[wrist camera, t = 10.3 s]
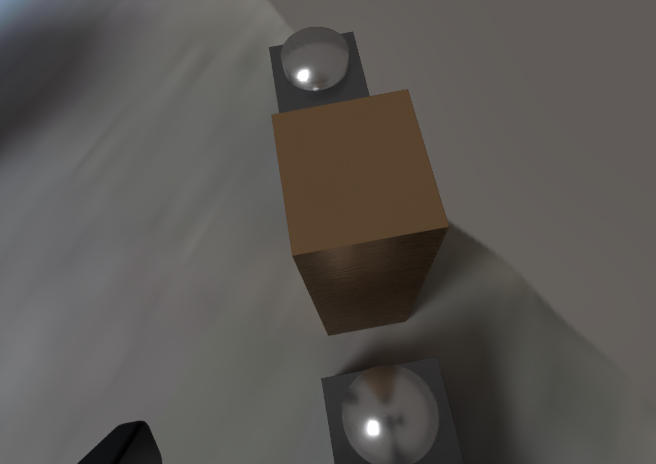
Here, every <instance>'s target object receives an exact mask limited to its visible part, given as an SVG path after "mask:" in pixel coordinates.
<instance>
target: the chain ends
mask: <svg viewBox="0 0 656 464" xmlns="http://www.w3.org/2000/svg"><path fill="white" fill-rule="evenodd" d="M269 50H270V57H271V63H272V69H273V76H274V82H275V88H276V95H277V101H278V107H279V113H284V112H289V111H294V110H300V109H305V108H311V107H316V106H321V105H327V104H332V103H337V102H343V101H348V100H353V99H359V98H364V97H369V92H368V88H367V84H366V81H365V76H364V72H363V69H362V65H361V61H360V57H359V53H358V49H357V45H356V41H355V38H354V34H353V32H349V33H343V34H339V33H338V32H336V31H334V30H332V29H329V28H324V27H310V28H306V29H303V30H300V31H298V32H296V33H294V34H293V35H292V36H290V37H289V38H288V39H287V41H286V42H285V43H284V45H279V46H274V47H269ZM321 380H322V386H323V392H324V399H325V405H326V411H327V418H328V424H329V430H330V437H331V443H332V449H333V456H334V462H335V464H465V463H464V459H463V455H462V452H461V448H460V444H459V440H458V436H457V432H456V428H455V425H454V421H453V417H452V413H451V409H450V405H449V401H448V397H447V394H446V390H445V386H444V382H443V378H442V374H441V370H440V366H439V363H438V359H437V357H434V358H428V359H423V360H417V361H412V362H407V363H401V364H396V365H381V366H376V367H373V368H371V369H368V370H364V371H358V372H353V373H348V374H342V375H337V376H332V377H326V378H321Z"/></svg>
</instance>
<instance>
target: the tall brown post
mask: <svg viewBox="0 0 656 464" xmlns="http://www.w3.org/2000/svg"><path fill="white" fill-rule="evenodd" d="M271 116H272V122H273V129H274V136H275V143H276V150H277V156H278V163H279V170H280V177H281V183H282V190H283V197H284V204H285V211H286V217H287V224H288V231H289V238H290V244H291V251H292V256H293V259H294V261H295V263H296V265H297V268H298V270H299V272H300V274H301V276H302V279H303V281H304V283H305V285H306V288H307V290H308V292H309V294H310V296H311V299H312V301H313V303H314V305H315V308H316V310H317V312H318V314H319V316H320V319H321V321H322V323H323V325H324V327H325V330H326V332H327V334H328V336H330V335H335V334H340V333H346V332H351V331H357V330H362V329H367V328H373V327H378V326H384V325H389V324H394V323H400V322H405V321H406V319H407V317H408V315H409V313H410V311H411V308H412V306H413V304H414V302H415V300H416V297H417V295H418V293H419V291H420V289H421V287H422V284H423V282H424V280H425V278H426V276H427V273H428V271H429V269H430V267H431V265H432V263H433V260H434V258H435V256H436V254H437V252H438V249H439V247H440V245H441V243H442V241H443V239H444V236H445V234H446V232H447V230H448V228H449V225H448V222H447V218H446V215H445V212H444V209H443V205H442V202H441V198H440V195H439V192H438V188H437V185H436V182H435V179H434V175H433V172H432V168H431V165H430V162H429V158H428V155H427V152H426V148H425V145H424V142H423V138H422V135H421V132H420V128H419V125H418V122H417V119H416V116H415V112H414V108H413V105H412V102H411V98H410V95H409V92H408V90H401V91H396V92H391V93H385V94H380V95H375V96H369V97H364V98H359V99H353V100H348V101H343V102H337V103H332V104H327V105H321V106H316V107H311V108H305V109H300V110H294V111H289V112H284V113H278V114H273V115H271Z"/></svg>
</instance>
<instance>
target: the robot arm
mask: <svg viewBox="0 0 656 464" xmlns="http://www.w3.org/2000/svg"><path fill="white" fill-rule="evenodd" d="M77 464H162V458H161V454H160V451H159V449H158V447H157V444H156V442H155V440H154V437H153V435H152V432H151V430H150V428H149V426H148V424H147V423H146V422H145V421H134V422H129V423H124V424H121V425H119V426H117V427H116V428H115V429H114V430H113V431H112V432H111V433H109V434H108V435H107V436H106V437H105V438H104V439H103V440H102V441H101V442H100V443H99V444H98V445H97V446H96V447H95V448H93V449H92V450H91V451H90V452H89V453H88V454H87V455H86V456H85V457H84V458H83V459H82V460H81V461H80V462H79V463H77Z"/></svg>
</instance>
